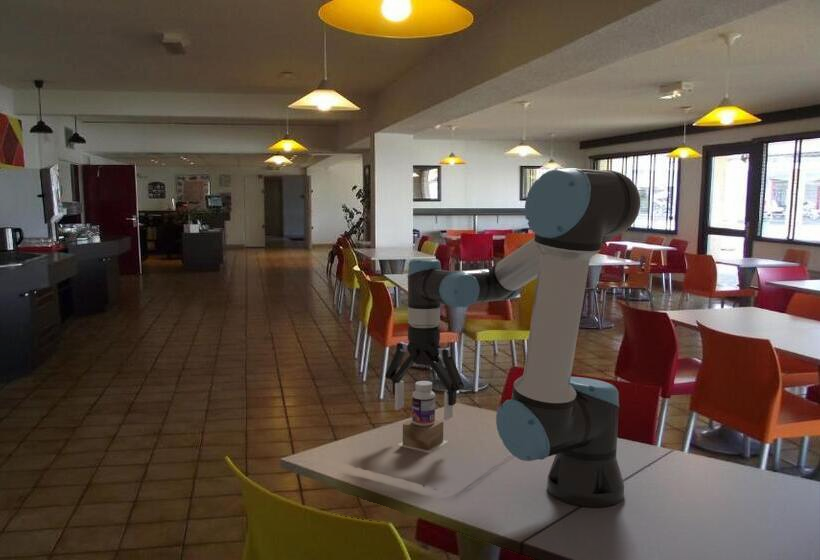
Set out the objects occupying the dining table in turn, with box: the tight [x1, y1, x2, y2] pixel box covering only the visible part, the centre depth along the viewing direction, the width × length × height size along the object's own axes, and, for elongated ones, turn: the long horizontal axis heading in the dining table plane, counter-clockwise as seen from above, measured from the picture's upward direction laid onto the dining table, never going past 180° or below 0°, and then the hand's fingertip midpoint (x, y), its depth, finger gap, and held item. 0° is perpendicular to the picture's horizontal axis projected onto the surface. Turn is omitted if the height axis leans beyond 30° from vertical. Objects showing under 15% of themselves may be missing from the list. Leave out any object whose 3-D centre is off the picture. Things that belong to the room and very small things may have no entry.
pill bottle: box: [411, 380, 436, 426], centre depth 158 cm, size 5×5×10 cm
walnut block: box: [402, 419, 444, 451], centre depth 159 cm, size 7×7×5 cm
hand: (423, 413), depth 159 cm, fingers open, 13 cm apart
